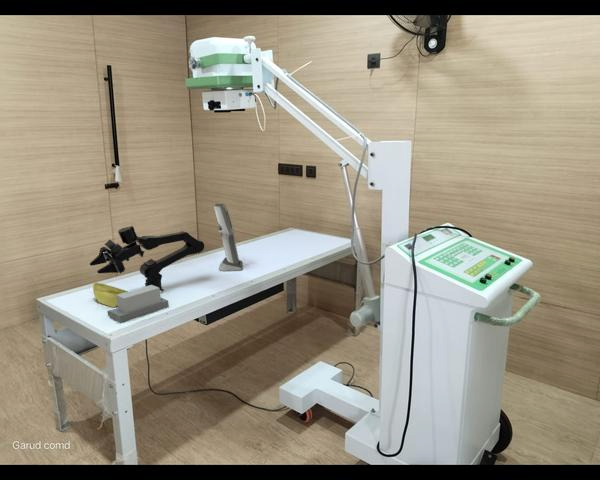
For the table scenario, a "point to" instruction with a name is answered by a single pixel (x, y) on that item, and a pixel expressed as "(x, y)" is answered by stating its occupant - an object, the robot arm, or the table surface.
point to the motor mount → (138, 303)
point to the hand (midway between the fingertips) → (93, 268)
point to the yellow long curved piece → (107, 294)
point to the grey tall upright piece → (227, 240)
